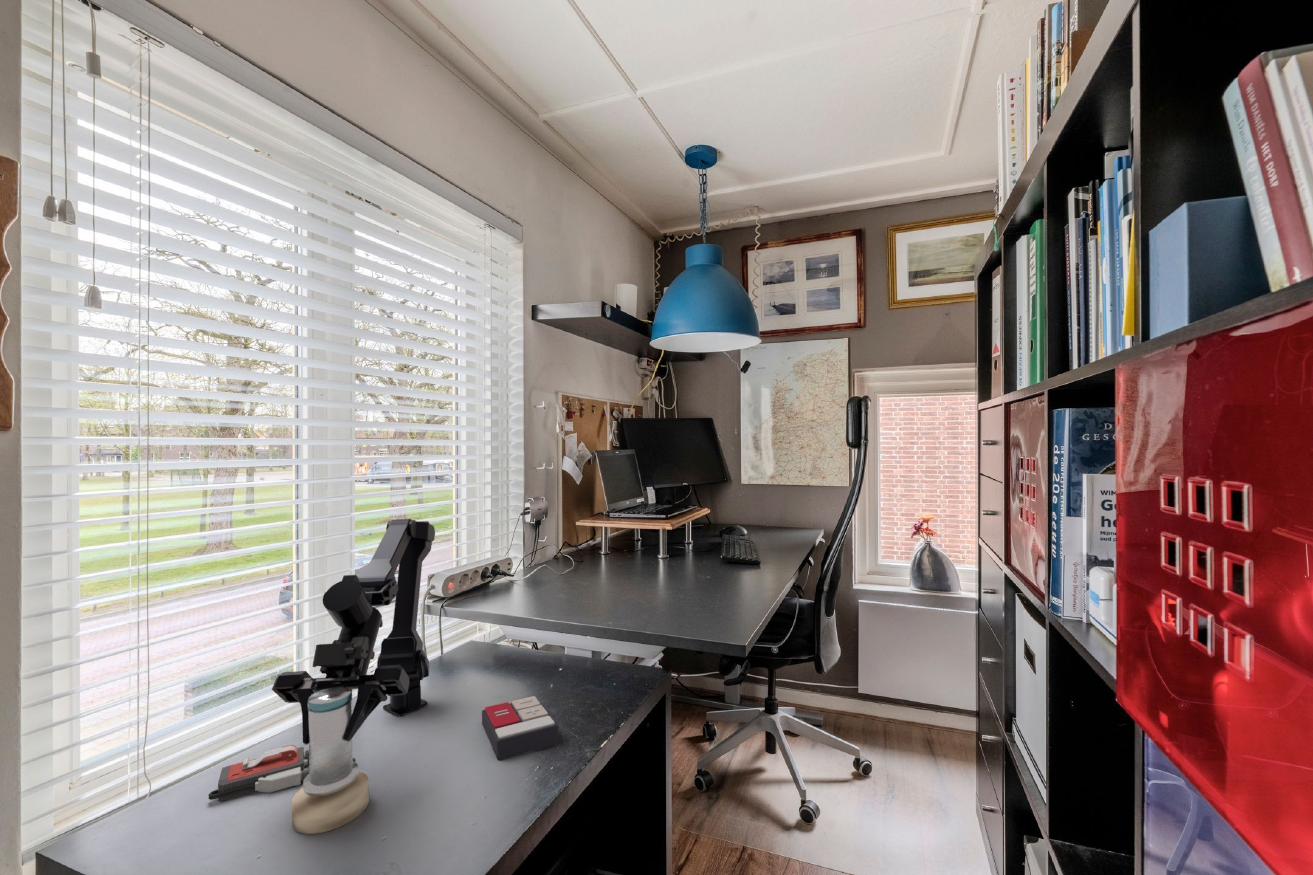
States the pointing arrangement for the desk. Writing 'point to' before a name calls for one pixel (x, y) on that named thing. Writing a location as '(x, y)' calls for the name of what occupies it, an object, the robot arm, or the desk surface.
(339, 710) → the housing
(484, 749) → the desk surface
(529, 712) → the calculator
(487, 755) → the desk surface
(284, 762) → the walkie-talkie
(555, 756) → the desk surface
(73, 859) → the desk surface
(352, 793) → the stand
